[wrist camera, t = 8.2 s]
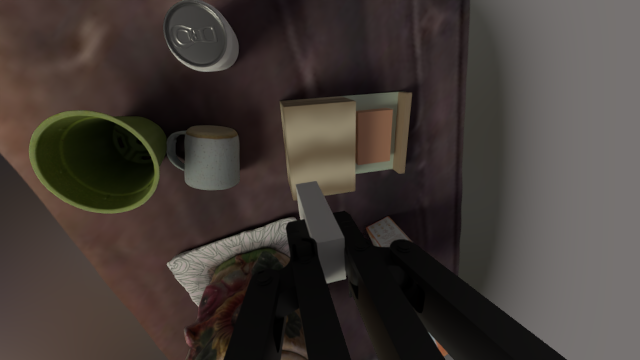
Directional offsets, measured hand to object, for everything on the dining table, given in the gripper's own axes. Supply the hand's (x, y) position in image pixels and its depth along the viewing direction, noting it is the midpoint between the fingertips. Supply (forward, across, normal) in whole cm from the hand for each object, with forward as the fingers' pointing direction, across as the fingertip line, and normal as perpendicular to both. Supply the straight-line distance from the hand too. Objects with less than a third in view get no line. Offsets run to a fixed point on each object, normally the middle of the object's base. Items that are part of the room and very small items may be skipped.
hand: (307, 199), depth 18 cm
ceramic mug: (+26, -12, -3) cm, 29 cm away
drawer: (+26, +16, -4) cm, 30 cm away
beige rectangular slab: (+26, +5, -4) cm, 27 cm away
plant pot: (+26, -21, 0) cm, 33 cm away
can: (+26, -7, +12) cm, 30 cm away
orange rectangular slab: (+23, +15, -4) cm, 28 cm away
